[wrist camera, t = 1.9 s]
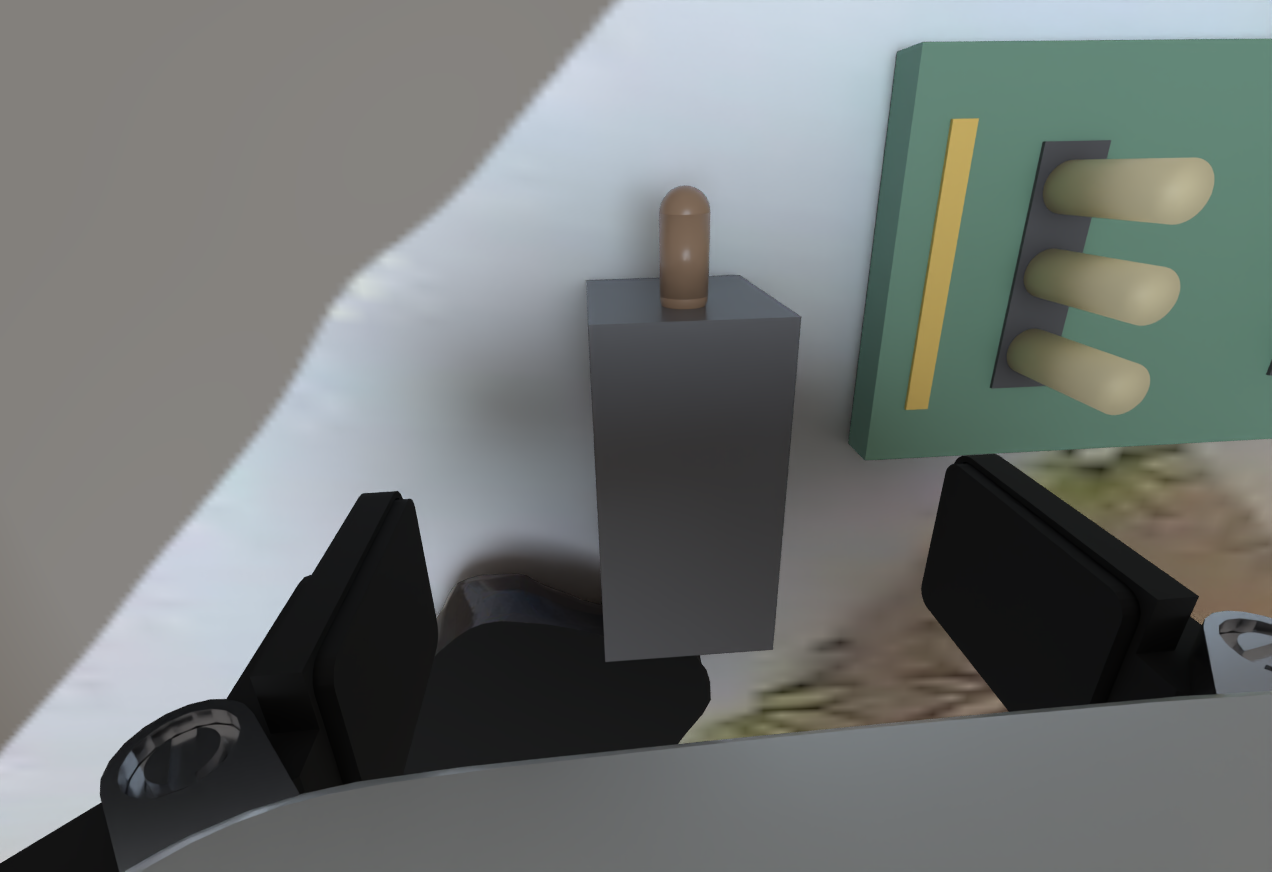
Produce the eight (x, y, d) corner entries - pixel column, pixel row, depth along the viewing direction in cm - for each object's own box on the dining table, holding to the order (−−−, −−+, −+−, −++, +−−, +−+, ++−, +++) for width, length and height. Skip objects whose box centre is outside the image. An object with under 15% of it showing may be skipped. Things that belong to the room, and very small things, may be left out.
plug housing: (727, 536, 19) (772, 649, 15) (600, 544, 19) (605, 662, 15) (744, 180, 15) (812, 185, 11) (581, 184, 15) (581, 190, 11)
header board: (1315, 419, 19) (1508, 484, 15) (848, 443, 18) (922, 519, 14) (1482, 45, 15) (1799, 1, 11) (897, 51, 15) (1018, 6, 10)
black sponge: (475, 519, 19) (452, 595, 16) (715, 607, 21) (740, 692, 18) (323, 851, 24) (280, 962, 21) (526, 896, 26) (518, 1003, 23)
